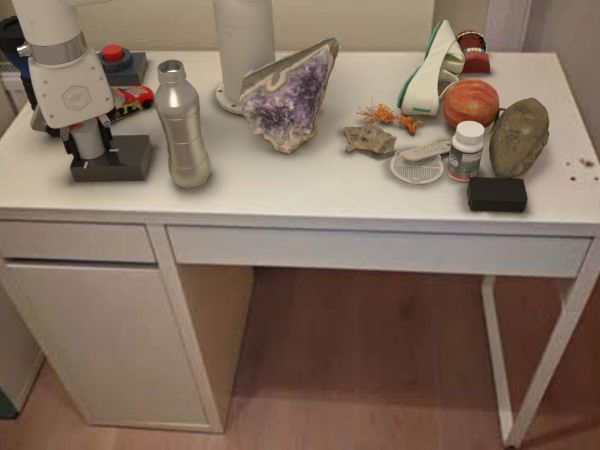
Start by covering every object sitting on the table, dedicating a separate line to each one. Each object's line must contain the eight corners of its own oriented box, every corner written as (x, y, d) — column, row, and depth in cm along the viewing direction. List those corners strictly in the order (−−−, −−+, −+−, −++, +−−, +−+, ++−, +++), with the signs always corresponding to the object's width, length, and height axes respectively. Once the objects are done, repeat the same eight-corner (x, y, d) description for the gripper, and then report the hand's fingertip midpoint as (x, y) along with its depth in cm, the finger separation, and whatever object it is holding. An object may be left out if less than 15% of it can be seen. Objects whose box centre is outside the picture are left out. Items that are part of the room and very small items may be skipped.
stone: (539, 195, 96) (537, 153, 91) (478, 190, 100) (474, 149, 95) (558, 123, 106) (558, 82, 101) (502, 122, 110) (499, 82, 105)
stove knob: (100, 139, 105) (92, 111, 102) (109, 153, 102) (101, 125, 99) (73, 148, 104) (64, 120, 100) (81, 162, 101) (72, 135, 97)
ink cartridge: (520, 189, 98) (466, 187, 98) (523, 178, 96) (468, 176, 97) (525, 213, 94) (468, 211, 95) (528, 202, 93) (470, 200, 93)
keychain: (450, 137, 107) (462, 145, 105) (450, 140, 107) (462, 148, 105) (398, 150, 102) (410, 158, 100) (398, 153, 103) (409, 162, 100)
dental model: (457, 51, 117) (452, 24, 124) (452, 77, 120) (447, 50, 128) (497, 53, 116) (489, 26, 124) (490, 79, 120) (484, 51, 127)
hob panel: (153, 148, 108) (149, 132, 106) (144, 182, 102) (140, 166, 100) (76, 149, 108) (71, 134, 106) (62, 183, 102) (56, 168, 100)
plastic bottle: (216, 166, 104) (199, 53, 90) (208, 194, 99) (188, 80, 85) (177, 165, 105) (153, 52, 91) (166, 193, 100) (140, 79, 86)
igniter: (147, 62, 128) (143, 44, 125) (140, 85, 122) (136, 66, 119) (96, 64, 128) (91, 45, 125) (87, 86, 122) (81, 67, 119)
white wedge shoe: (433, 47, 126) (473, 58, 125) (392, 125, 112) (436, 139, 110) (442, 9, 120) (484, 20, 118) (398, 86, 106) (445, 100, 104)
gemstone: (235, 127, 113) (249, 169, 102) (227, 38, 104) (242, 74, 93) (335, 114, 116) (359, 153, 106) (336, 27, 107) (363, 59, 96)
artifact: (354, 110, 110) (400, 125, 103) (358, 124, 112) (405, 139, 105) (326, 138, 107) (372, 155, 101) (331, 151, 109) (377, 169, 103)
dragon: (417, 141, 108) (417, 126, 105) (352, 127, 112) (351, 113, 108) (424, 121, 110) (425, 106, 107) (360, 108, 113) (359, 94, 110)
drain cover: (388, 181, 100) (388, 177, 99) (391, 148, 106) (392, 143, 105) (443, 186, 99) (444, 181, 98) (443, 152, 105) (444, 147, 104)
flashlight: (81, 116, 115) (47, 9, 101) (83, 142, 110) (47, 33, 96) (34, 124, 114) (-7, 17, 100) (34, 151, 108) (-10, 41, 94)
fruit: (452, 98, 100) (517, 105, 100) (448, 62, 107) (509, 70, 107) (439, 141, 106) (500, 148, 106) (436, 105, 113) (493, 112, 113)
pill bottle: (443, 164, 103) (450, 120, 97) (473, 161, 103) (481, 117, 97) (450, 183, 99) (458, 139, 94) (481, 181, 100) (490, 136, 94)
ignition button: (125, 52, 124) (123, 44, 122) (121, 62, 121) (119, 53, 120) (106, 52, 124) (104, 44, 123) (102, 62, 121) (99, 54, 120)
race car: (147, 92, 120) (143, 72, 118) (161, 105, 117) (157, 85, 114) (79, 118, 115) (73, 98, 112) (92, 132, 112) (86, 112, 109)
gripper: (0, 75, 85) (43, 181, 98) (125, 39, 91) (150, 145, 103) (-11, 50, 90) (31, 155, 103) (108, 18, 95) (134, 121, 108)
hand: (90, 149), depth 103 cm, fingers closed on stove knob, 4 cm apart
